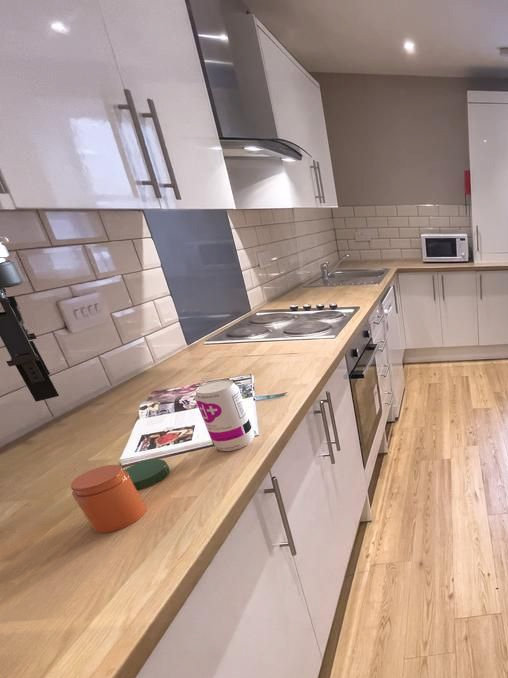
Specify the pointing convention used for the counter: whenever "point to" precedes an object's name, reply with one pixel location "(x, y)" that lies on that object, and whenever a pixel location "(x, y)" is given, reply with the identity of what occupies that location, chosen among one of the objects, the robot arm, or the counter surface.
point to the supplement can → (224, 415)
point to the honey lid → (148, 472)
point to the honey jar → (108, 498)
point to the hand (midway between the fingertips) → (43, 386)
